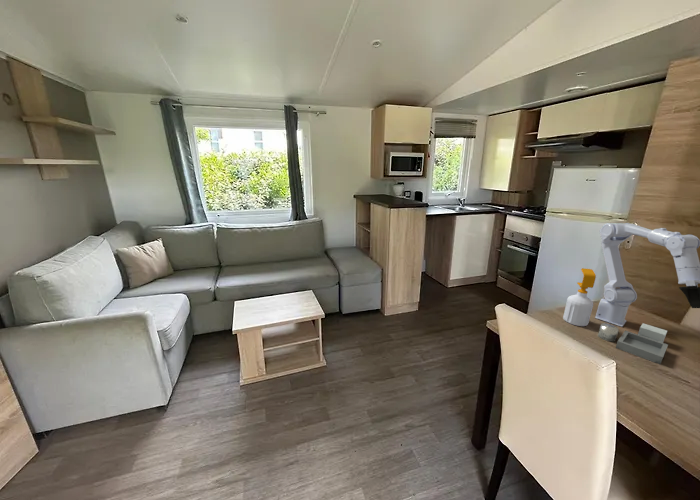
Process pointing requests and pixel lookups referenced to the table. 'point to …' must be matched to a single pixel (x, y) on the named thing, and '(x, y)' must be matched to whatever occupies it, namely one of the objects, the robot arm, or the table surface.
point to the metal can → (608, 332)
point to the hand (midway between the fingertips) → (697, 308)
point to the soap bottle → (580, 301)
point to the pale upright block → (652, 332)
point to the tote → (642, 346)
